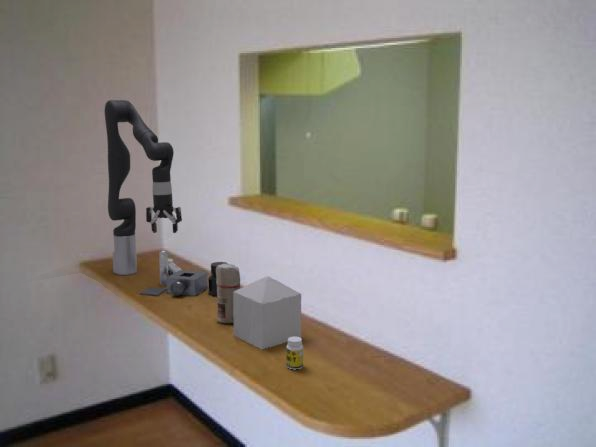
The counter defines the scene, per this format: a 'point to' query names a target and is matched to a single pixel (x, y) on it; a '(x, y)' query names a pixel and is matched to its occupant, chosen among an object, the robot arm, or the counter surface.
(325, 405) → the counter surface
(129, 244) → the robot arm
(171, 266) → the white elongated piece
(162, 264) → the grey metal cylinder
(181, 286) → the block
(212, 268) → the ink bottle
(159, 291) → the key rest mat
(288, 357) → the supplement bottle
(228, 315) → the spray can
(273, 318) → the decorative block
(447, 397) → the counter surface
